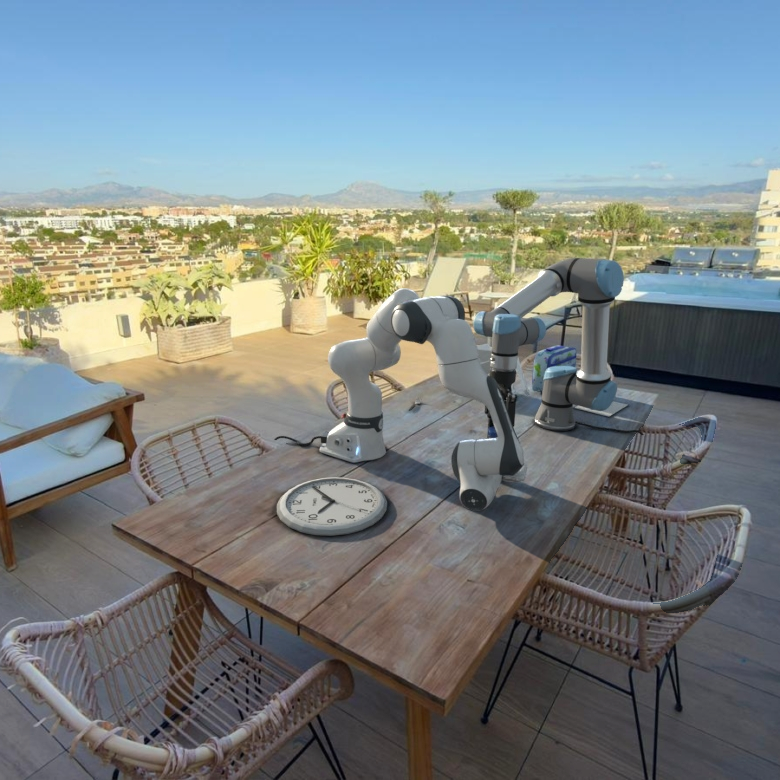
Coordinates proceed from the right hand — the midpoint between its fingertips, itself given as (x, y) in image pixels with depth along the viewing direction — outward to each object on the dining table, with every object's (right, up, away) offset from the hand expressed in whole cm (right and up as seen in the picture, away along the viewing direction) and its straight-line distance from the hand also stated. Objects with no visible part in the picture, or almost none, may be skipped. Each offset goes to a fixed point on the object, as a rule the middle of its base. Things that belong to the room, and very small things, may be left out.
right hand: (496, 442), depth 158 cm
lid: (0, +4, -1) cm, 4 cm away
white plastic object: (+9, +15, +85) cm, 87 cm away
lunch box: (+45, +16, +90) cm, 102 cm away
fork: (-22, +9, +65) cm, 69 cm away
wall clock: (-48, -16, -15) cm, 53 cm away
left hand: (0, -5, +2) cm, 5 cm away
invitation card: (+59, +9, +68) cm, 91 cm away
